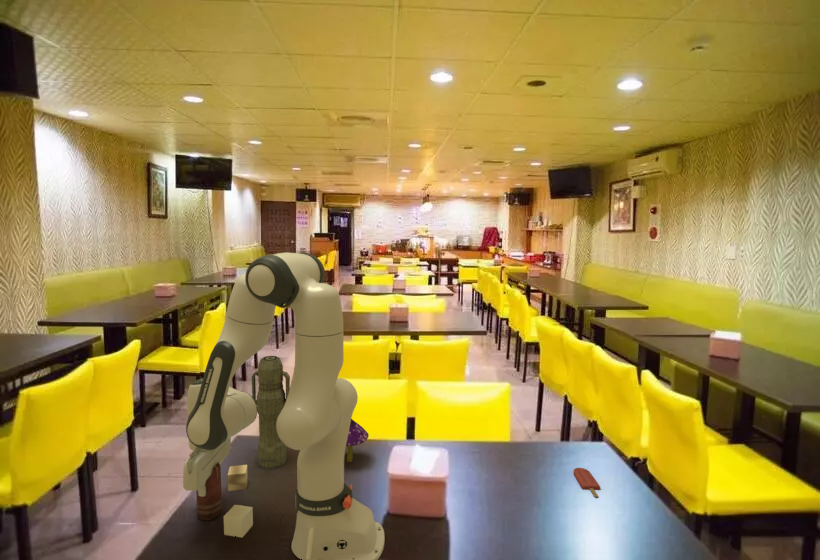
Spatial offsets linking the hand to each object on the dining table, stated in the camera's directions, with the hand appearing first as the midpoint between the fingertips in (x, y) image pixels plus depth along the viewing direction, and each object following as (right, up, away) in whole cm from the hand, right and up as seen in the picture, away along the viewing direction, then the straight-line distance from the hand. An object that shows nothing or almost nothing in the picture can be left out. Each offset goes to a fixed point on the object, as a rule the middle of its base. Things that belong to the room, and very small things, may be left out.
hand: (209, 487), depth 124 cm
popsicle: (+107, -7, +18) cm, 109 cm away
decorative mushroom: (+34, -5, +29) cm, 45 cm away
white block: (+10, -9, -5) cm, 14 cm away
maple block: (+2, -6, +15) cm, 16 cm away
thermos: (+9, -5, +28) cm, 30 cm away
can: (0, -8, +1) cm, 8 cm away
